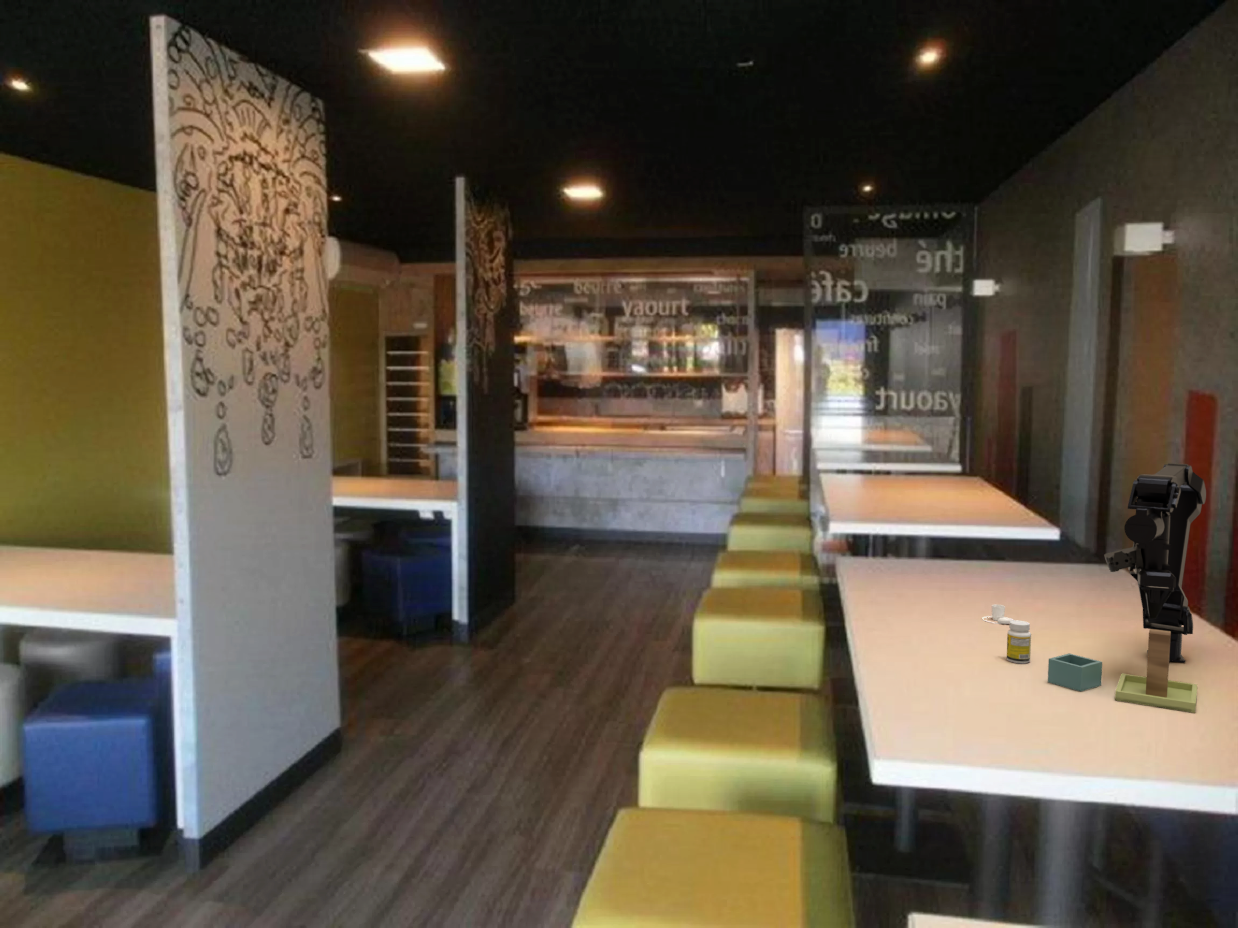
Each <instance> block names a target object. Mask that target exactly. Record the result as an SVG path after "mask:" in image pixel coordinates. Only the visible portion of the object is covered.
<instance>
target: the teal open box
mask: <svg viewBox="0 0 1238 928" xmlns="http://www.w3.org/2000/svg"><path fill="white" fill-rule="evenodd" d="M1047 667H1048V671H1047V683H1050V684H1052V685H1057V686H1061V687H1062V688H1067V689H1069V690H1074V691H1077V692H1084V691H1087V690H1088V691H1089V690H1090V689H1094V688H1098V687H1101V686H1102V681H1103V680H1102V677H1103V676H1102V675H1103V661H1101V660H1096V659H1093V658H1089V657H1085V656H1080V655H1077V654H1073V653H1064V654H1061V655H1058V656H1053V657H1050V658H1048V666H1047Z"/></svg>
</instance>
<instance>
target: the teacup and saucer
mask: <svg viewBox="0 0 1238 928" xmlns="http://www.w3.org/2000/svg"><path fill="white" fill-rule="evenodd" d="M1005 610H1006V606H1005V605H1003V604H996V603H995V604H991V615H985V616H982V617H981V618H982V619H983V620H982V619H981V620H982V621H984V622H987V623H989V624H995V625H1010V621H1013V620H1015V619H1013V618H1012V617H1007V616H1005ZM987 617H988V618H987ZM989 617H990V618H991V619H992V620H993V621H995V622H993V621H989V620H987V619H989ZM984 618H986V620H984Z"/></svg>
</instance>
